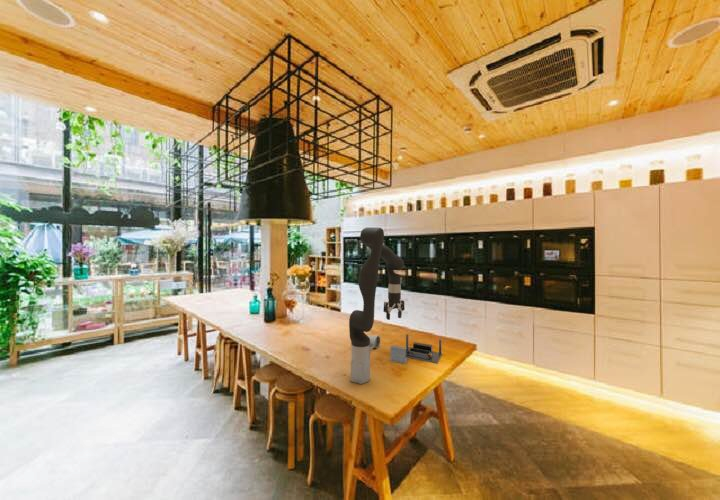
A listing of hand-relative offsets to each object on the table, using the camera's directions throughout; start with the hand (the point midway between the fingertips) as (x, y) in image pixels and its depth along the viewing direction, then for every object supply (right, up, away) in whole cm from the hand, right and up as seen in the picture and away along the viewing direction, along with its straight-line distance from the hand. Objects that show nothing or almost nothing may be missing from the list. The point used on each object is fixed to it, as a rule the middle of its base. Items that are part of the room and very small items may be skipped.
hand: (394, 318), depth 159 cm
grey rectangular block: (+2, -22, -8) cm, 24 cm away
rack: (+16, -22, 0) cm, 27 cm away
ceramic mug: (-13, -22, +12) cm, 28 cm away
